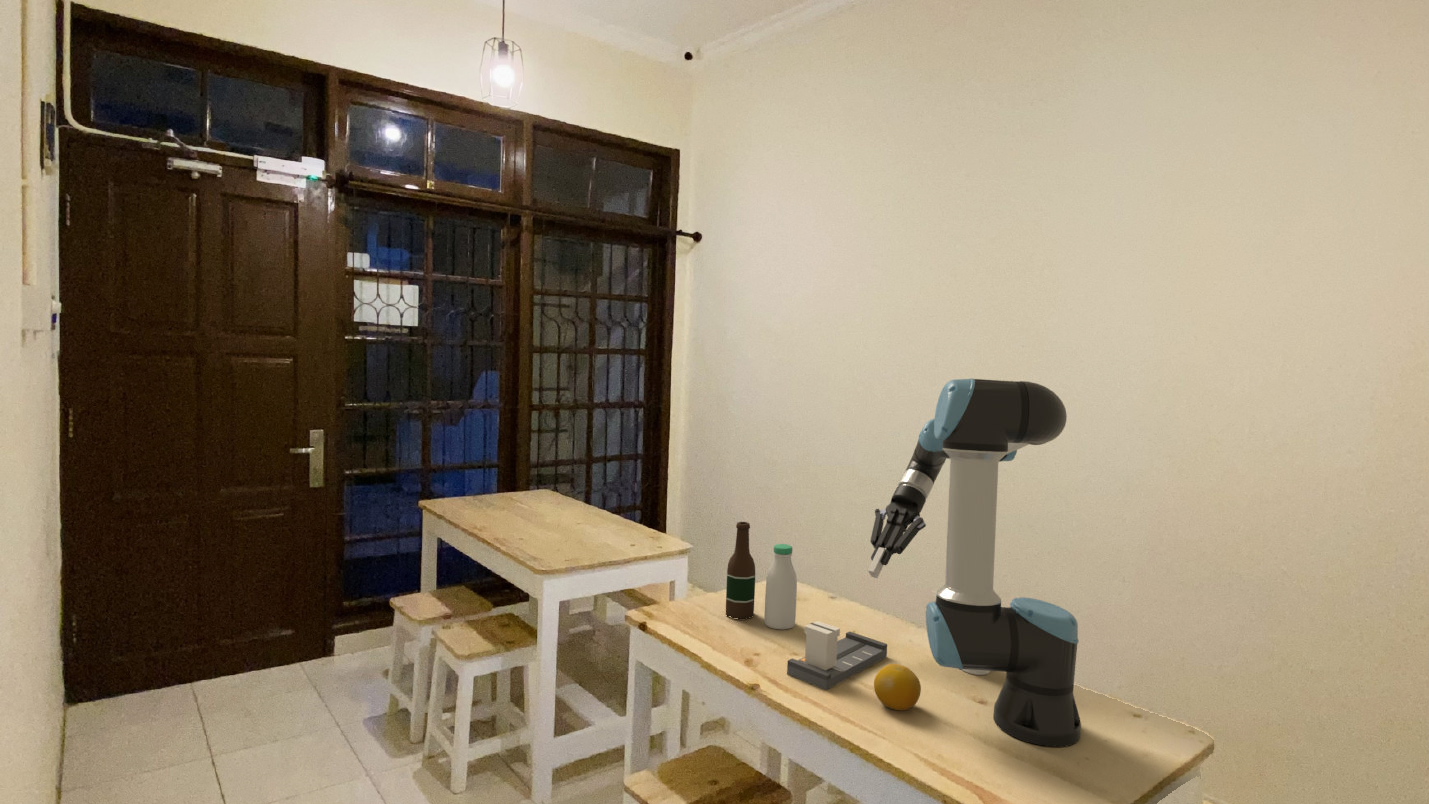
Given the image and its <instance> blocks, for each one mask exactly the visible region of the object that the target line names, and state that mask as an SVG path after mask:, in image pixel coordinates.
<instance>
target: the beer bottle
mask: <svg viewBox="0 0 1429 804" xmlns="http://www.w3.org/2000/svg"><path fill="white" fill-rule="evenodd" d="M735 526H736V527H735V528H736V536H735V537H736V539H735V547H734V552H733V554H732V555H731V557H730V558H729V560H728V563H727V569H726V592H725V593H726V595H725V616H726V615H727V616H726V617H728V616H731V617H732V618H738V619H737V620H740V619H746V618H749V617H752V616H753V617H754V612H755V596H756V595H755V593H756V591H755V590H756V564H755V563H756V562H755V560H754V558H753V556H752V555H751V552H750V529H751V525H750V522H747V521H738V522H736V525H735ZM753 617H752V618H753ZM732 618H731V619H732ZM749 619H750V618H749ZM746 620H747V619H746Z"/></svg>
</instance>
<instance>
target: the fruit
mask: <svg viewBox="0 0 1429 804" xmlns="http://www.w3.org/2000/svg"><path fill="white" fill-rule="evenodd" d="M873 689H874V692H875V695H876V697H877V699H878V700H879V701H880V703H881V704H882V705H884V706H885V707H887V708H889V709H892V710H895V711H905V710H906V711H907V710H909V709H910V708H912V707H914V706H916V704H917V703H918V701H919V699H920V696H921V692H922V686H921V682H920V679H919V678H918V675H916V673H915V672H913V670H911V669H910V668H908V667H907V666H904V665H902V664H897V663H890V664H887V665H884V666H883V667H882V668H881V669H879V671H878V672H877V673H876V675H875V678H874V682H873Z"/></svg>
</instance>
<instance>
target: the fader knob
mask: <svg viewBox="0 0 1429 804" xmlns="http://www.w3.org/2000/svg"><path fill="white" fill-rule="evenodd" d="M803 633H804V634H805V635H806V637H805V655H804V657H805V663H807V664H809V665H812V666H815V667H817V668H820V669H822V670H825V671H826V670H828V669H830V668H831V667H833V666H835V665H836V658H837V641H838V640H839V639H838V638H839V637H840V636H841V635H840V634H841V628H839V627H837V626H835V625H834V626H833V625H831V624H827V623H825V622H823V621H819V620H816V621H814V622H810V623H809V624H807V625H804V632H803Z"/></svg>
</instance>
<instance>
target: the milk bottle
mask: <svg viewBox="0 0 1429 804" xmlns="http://www.w3.org/2000/svg"><path fill="white" fill-rule="evenodd" d="M773 555H774V556H773V561H772V563H771V565H770V567H769V569H768V571H767V575H766V578H765V580H766V581H765V593H764V594H765V596H764V597H765V599H764V616H763V617H764V620H763V622H764V624H765V626H766V627H768V628H770V629H774V630H789V629H792V628H794V627H795V625H796V617H797V615H796V614H797V613H796V612H797V592H798V579H797V574H796V571H795V567H794V565H793V562H792V556H793V546H792V545H791V544H784V543H777V544H775V545H773Z"/></svg>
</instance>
